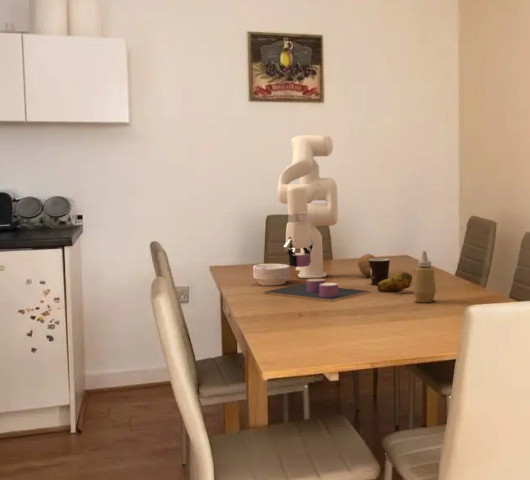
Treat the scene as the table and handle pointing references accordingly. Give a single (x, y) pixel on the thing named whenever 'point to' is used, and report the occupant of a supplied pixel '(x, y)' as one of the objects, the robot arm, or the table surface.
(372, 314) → the table surface
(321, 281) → the dish mid
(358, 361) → the table surface
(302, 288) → the placemat
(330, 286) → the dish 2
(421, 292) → the squeeze bottle
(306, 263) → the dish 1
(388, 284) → the potato
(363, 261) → the natural sponge
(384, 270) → the coffee mug
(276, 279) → the paper bowls
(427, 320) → the table surface
